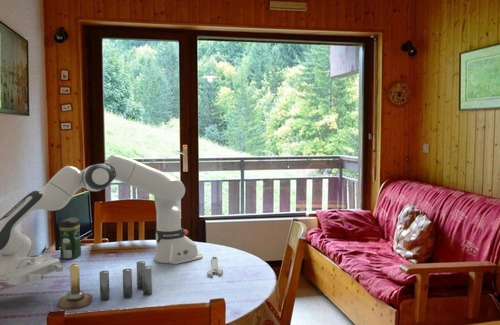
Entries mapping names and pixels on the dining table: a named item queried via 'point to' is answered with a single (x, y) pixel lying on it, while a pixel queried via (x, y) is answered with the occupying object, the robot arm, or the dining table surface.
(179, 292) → the dining table surface
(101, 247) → the dining table surface
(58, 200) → the robot arm
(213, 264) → the adjustable wrench
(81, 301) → the walnut plate
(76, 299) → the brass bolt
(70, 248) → the coffee jar
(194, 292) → the dining table surface
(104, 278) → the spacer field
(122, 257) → the dining table surface
